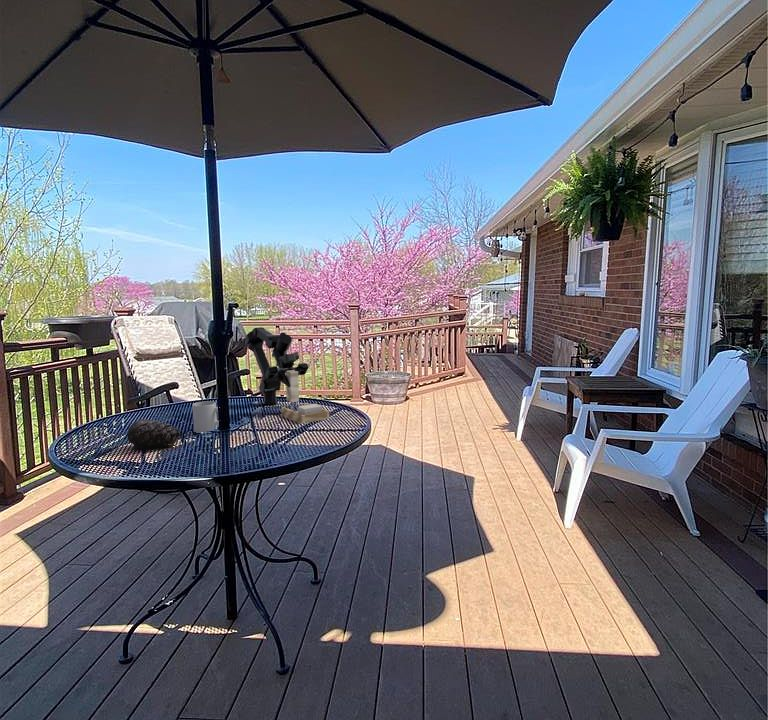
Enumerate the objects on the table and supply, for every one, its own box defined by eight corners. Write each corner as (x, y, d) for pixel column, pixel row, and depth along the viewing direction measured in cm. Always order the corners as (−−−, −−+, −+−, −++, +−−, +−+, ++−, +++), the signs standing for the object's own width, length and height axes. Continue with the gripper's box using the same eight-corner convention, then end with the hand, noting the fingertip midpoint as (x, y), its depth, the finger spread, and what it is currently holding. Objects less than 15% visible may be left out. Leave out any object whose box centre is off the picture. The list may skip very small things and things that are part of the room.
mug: (190, 434, 180) (187, 406, 179) (200, 428, 189) (198, 401, 187) (221, 434, 179) (219, 406, 178) (229, 428, 188) (228, 401, 186)
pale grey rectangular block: (286, 400, 209) (285, 371, 207) (294, 399, 211) (293, 370, 210) (291, 402, 205) (290, 372, 203) (299, 401, 207) (298, 371, 206)
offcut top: (298, 412, 196) (297, 406, 196) (315, 409, 201) (315, 403, 200) (304, 415, 191) (304, 409, 191) (322, 412, 196) (322, 406, 196)
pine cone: (178, 449, 162) (175, 421, 161) (123, 452, 161) (120, 423, 159) (187, 440, 173) (185, 413, 171) (136, 443, 171) (133, 416, 170)
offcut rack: (279, 416, 204) (279, 407, 204) (308, 411, 213) (308, 402, 212) (300, 426, 188) (300, 416, 188) (331, 420, 197) (331, 410, 196)
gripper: (266, 348, 203) (278, 377, 195) (306, 345, 214) (318, 372, 206) (260, 364, 210) (271, 393, 203) (298, 360, 221) (310, 387, 214)
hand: (293, 386), depth 206 cm, fingers closed on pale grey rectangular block, 3 cm apart
